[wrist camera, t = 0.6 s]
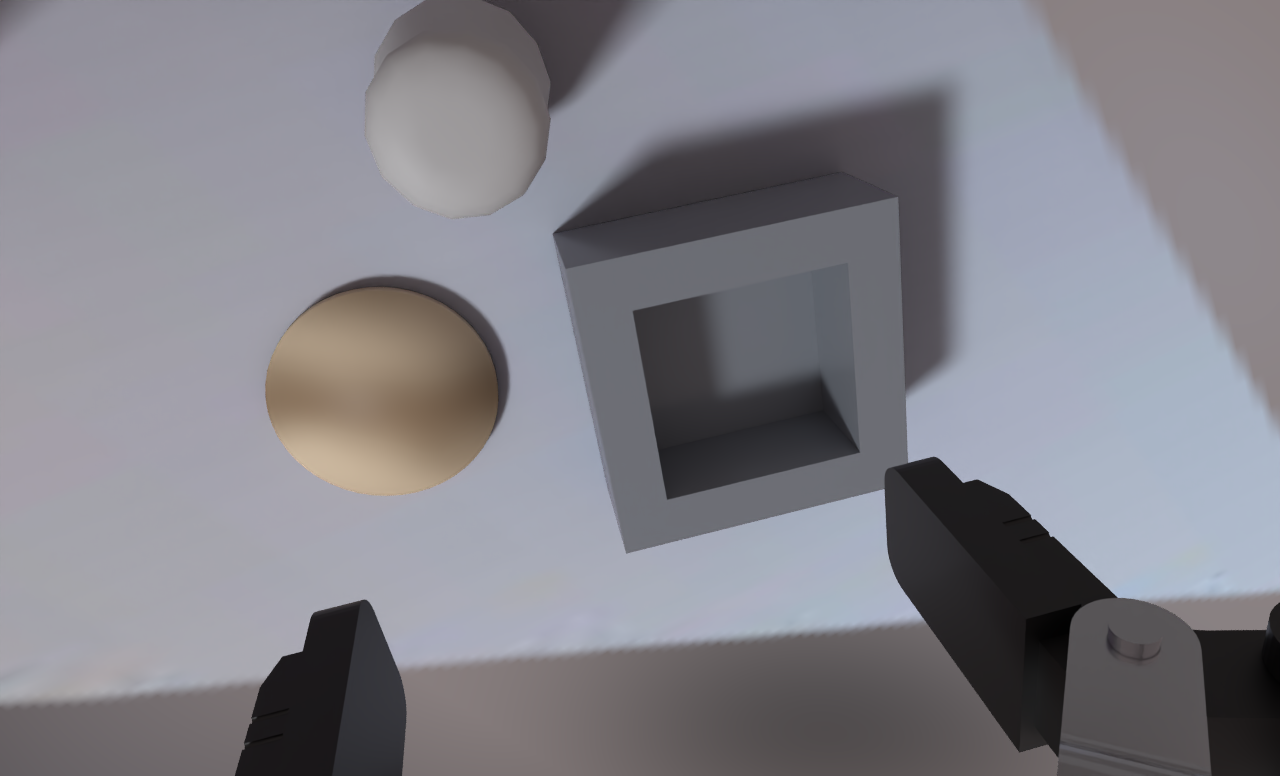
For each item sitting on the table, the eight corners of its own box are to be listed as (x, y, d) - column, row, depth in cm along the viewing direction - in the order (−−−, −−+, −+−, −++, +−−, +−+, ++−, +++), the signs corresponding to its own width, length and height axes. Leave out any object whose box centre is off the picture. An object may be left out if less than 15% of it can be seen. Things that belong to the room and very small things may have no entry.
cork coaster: (234, 314, 33) (230, 319, 32) (467, 264, 34) (467, 268, 33) (311, 510, 37) (309, 517, 36) (519, 460, 37) (520, 467, 37)
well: (552, 233, 34) (565, 269, 29) (842, 171, 35) (898, 196, 30) (608, 489, 39) (626, 553, 34) (859, 429, 40) (908, 482, 35)
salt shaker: (487, -38, 29) (499, -66, 18) (573, 113, 32) (633, 175, 20) (344, 53, 30) (264, 85, 18) (441, 195, 32) (425, 303, 21)
